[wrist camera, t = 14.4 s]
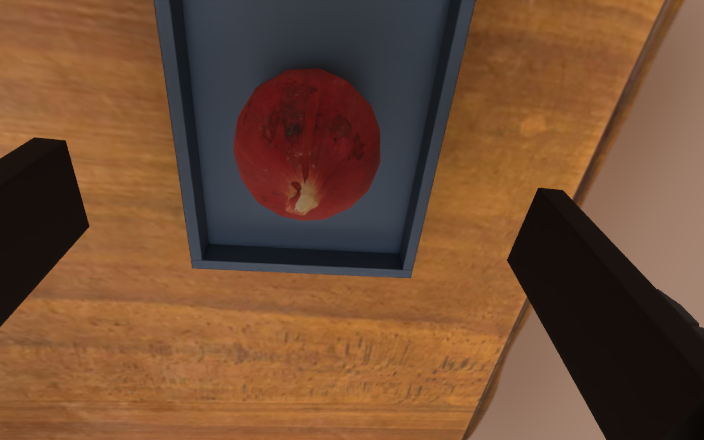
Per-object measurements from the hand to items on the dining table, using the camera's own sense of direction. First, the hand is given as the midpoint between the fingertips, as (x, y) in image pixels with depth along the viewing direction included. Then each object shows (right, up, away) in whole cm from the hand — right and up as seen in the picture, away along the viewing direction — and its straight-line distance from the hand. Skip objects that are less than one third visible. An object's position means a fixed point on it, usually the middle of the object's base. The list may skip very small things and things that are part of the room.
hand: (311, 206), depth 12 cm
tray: (-1, +5, +8) cm, 9 cm away
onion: (-1, +5, +8) cm, 9 cm away
